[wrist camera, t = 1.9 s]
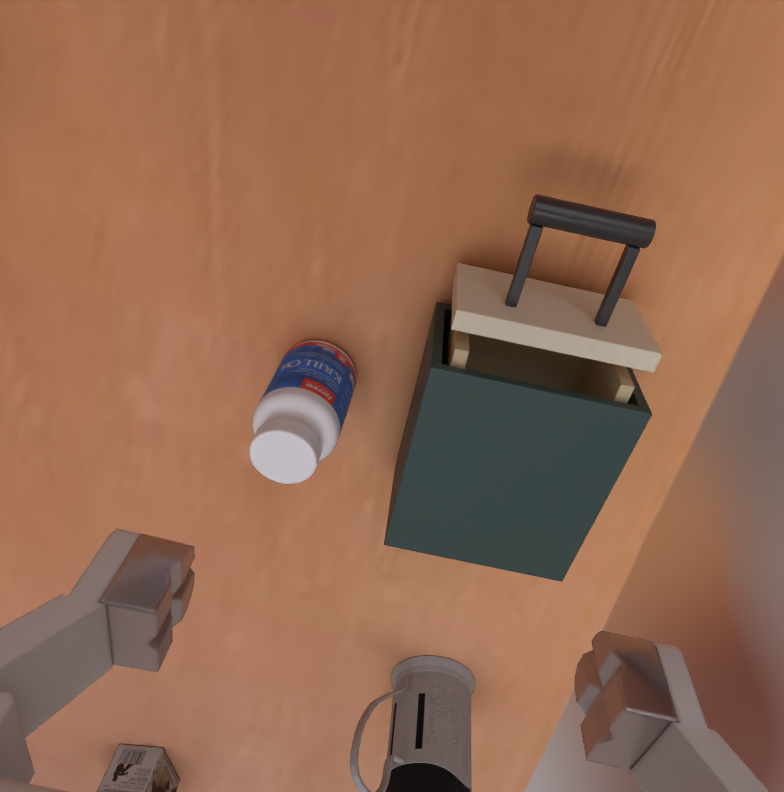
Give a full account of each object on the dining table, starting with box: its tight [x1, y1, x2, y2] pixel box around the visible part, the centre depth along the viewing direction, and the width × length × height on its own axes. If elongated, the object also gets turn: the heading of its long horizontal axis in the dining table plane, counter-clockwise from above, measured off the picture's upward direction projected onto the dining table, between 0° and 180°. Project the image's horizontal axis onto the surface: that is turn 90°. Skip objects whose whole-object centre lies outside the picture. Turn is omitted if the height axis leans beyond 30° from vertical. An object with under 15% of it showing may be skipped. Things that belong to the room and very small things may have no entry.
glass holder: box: [350, 656, 475, 792], centre depth 55 cm, size 9×14×15 cm, turn 40°
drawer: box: [442, 194, 663, 403], centre depth 36 cm, size 19×11×7 cm, turn 169°
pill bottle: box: [249, 340, 356, 484], centre depth 39 cm, size 6×5×10 cm
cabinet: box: [384, 303, 652, 581], centre depth 39 cm, size 14×12×8 cm
